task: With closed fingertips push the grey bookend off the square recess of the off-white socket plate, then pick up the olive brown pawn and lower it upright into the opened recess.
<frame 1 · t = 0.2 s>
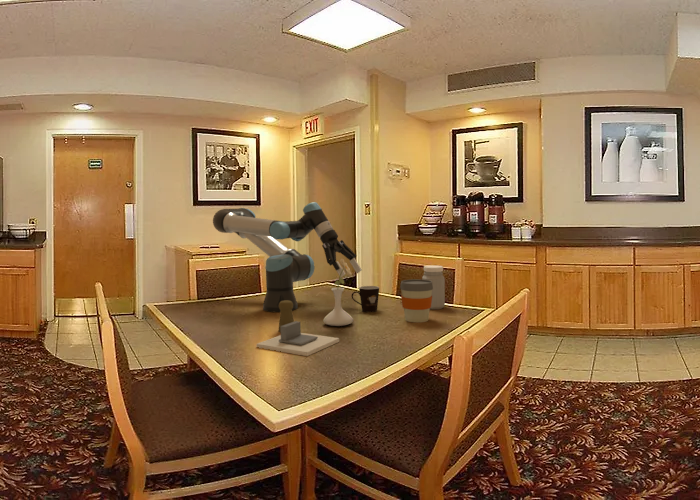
hand: (351, 273, 217), 15 cm above the table, tool tilted 35°, fingers open, 13 cm apart
coffee mug: (366, 311, 215), on the table
jar: (433, 308, 219), on the table
flower in vase: (339, 324, 191), on the table
olive brown pawn: (286, 331, 182), on the table
reusable coffee cup: (416, 320, 196), on the table
grey bookend: (298, 332, 163), point 4 cm above the table, slide at 0.0 cm
socket plate: (298, 344, 164), on the table
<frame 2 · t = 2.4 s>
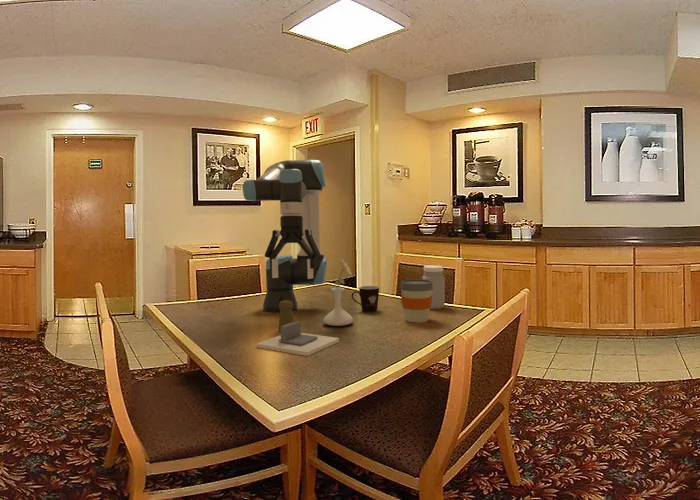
hand: (292, 278, 170), 21 cm above the table, tool pointing down, fingers open, 13 cm apart
nothing on the table moved.
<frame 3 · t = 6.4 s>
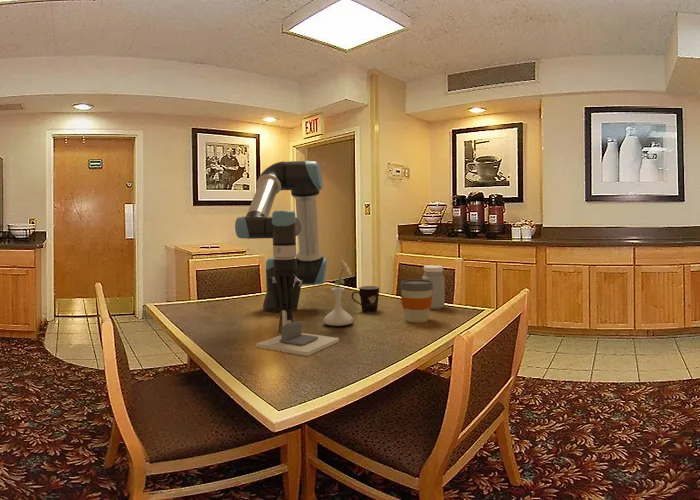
hand: (286, 329, 165), 5 cm above the table, tool pointing down, fingers closed
grey bookend: (298, 332, 163), point 4 cm above the table, slide at 0.3 cm, touching gripper
everything else where it was.
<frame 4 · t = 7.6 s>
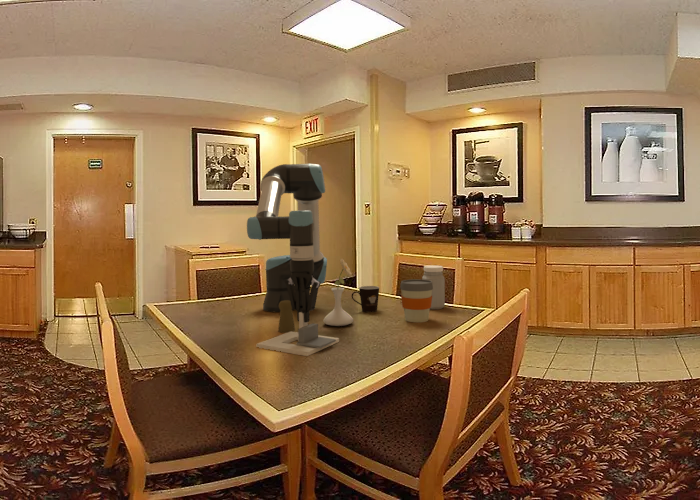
hand: (303, 331, 162), 5 cm above the table, tool pointing down, fingers closed
grey bookend: (316, 335, 160), point 4 cm above the table, slide at 7.1 cm, touching gripper
everything else where it was.
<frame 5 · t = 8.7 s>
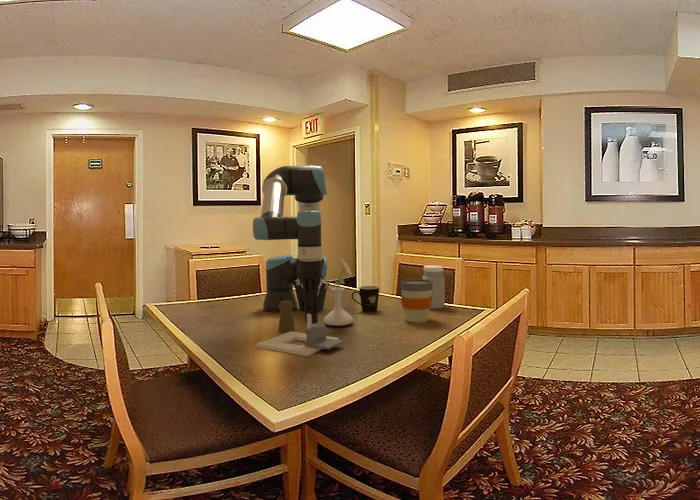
hand: (311, 333, 160), 4 cm above the table, tool pointing down, fingers closed
grey bookend: (324, 336, 158), point 4 cm above the table, slide at 10.2 cm, touching gripper
everything else where it was.
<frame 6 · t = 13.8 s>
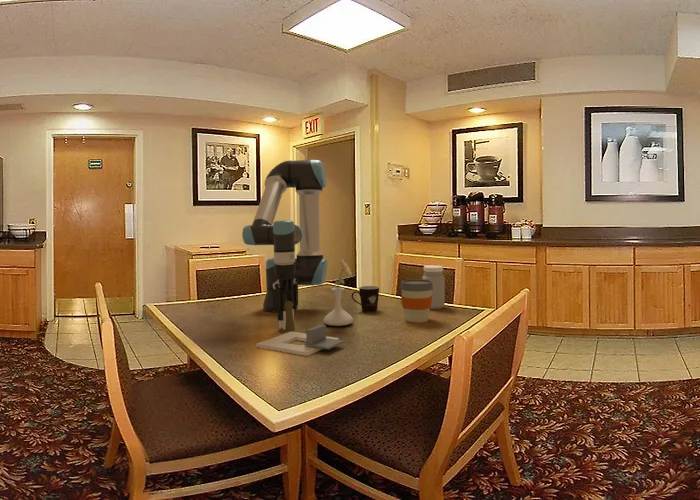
hand: (286, 327, 182), 1 cm above the table, tool pointing down, fingers closed on olive brown pawn, 4 cm apart
olive brown pawn: (286, 331, 182), on the table, touching gripper
grey bookend: (324, 336, 158), point 4 cm above the table, slide at 10.2 cm
everything else where it was.
when the fingers open (3 cm above the table, at t = 18.9 s): olive brown pawn drops 2 cm, resting in socket plate.
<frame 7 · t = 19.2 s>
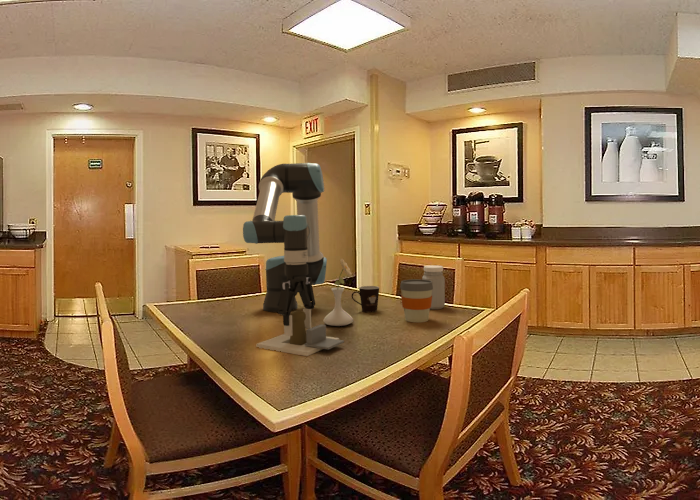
hand: (298, 331, 163), 4 cm above the table, tool pointing down, fingers open, 9 cm apart
olive brown pawn: (298, 345, 164), resting in socket plate
everything else where it was.
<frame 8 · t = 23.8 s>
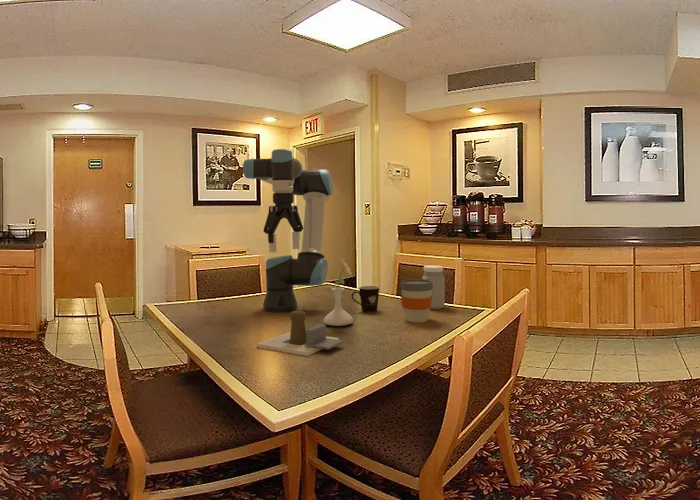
hand: (284, 250, 185), 29 cm above the table, tool pointing down, fingers open, 13 cm apart
nothing on the table moved.
at the end: olive brown pawn 0.2 cm off-centre on the socket plate, point 0.0 cm above the socket plate's base; olive brown pawn tilted 0°; grey bookend slide at 10.2 cm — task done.
